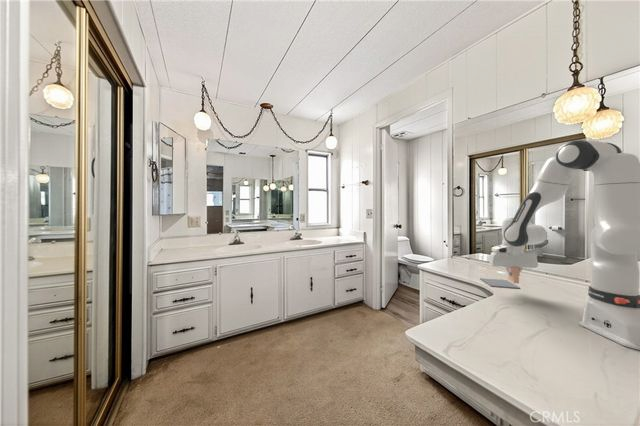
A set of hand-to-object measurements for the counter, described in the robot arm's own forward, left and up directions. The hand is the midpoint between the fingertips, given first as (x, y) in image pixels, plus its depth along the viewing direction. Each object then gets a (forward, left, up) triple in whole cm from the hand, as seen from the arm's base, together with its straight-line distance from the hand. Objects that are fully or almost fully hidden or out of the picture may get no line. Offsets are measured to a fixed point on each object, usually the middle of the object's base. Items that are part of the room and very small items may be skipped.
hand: (513, 275), depth 123 cm
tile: (0, 0, -3) cm, 3 cm away
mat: (+15, 0, -9) cm, 17 cm away
